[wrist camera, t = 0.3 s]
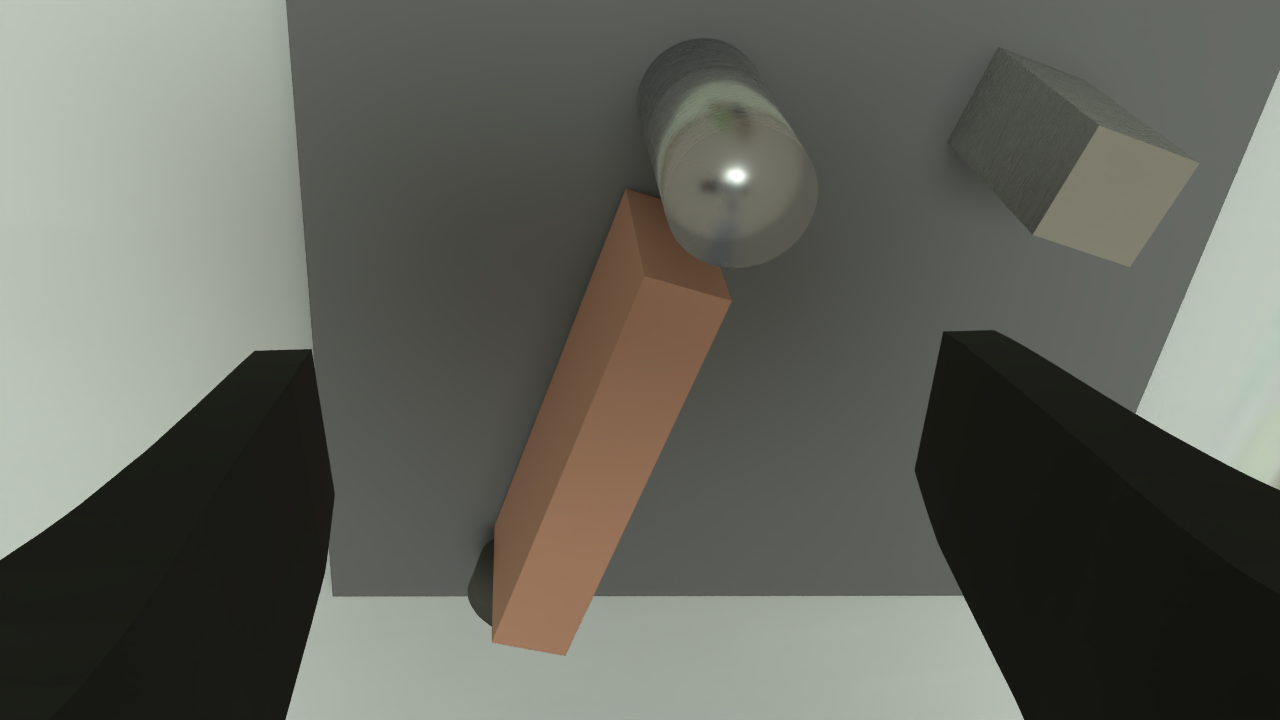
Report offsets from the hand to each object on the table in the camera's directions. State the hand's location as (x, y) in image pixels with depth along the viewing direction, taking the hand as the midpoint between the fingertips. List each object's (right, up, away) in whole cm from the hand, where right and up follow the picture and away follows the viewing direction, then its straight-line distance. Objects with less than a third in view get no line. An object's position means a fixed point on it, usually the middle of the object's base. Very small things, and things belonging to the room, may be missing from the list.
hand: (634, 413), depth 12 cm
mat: (+3, +1, +11) cm, 12 cm away
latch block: (+7, +6, +9) cm, 13 cm away
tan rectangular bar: (-1, 0, +11) cm, 11 cm away
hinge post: (+1, +6, +8) cm, 10 cm away
